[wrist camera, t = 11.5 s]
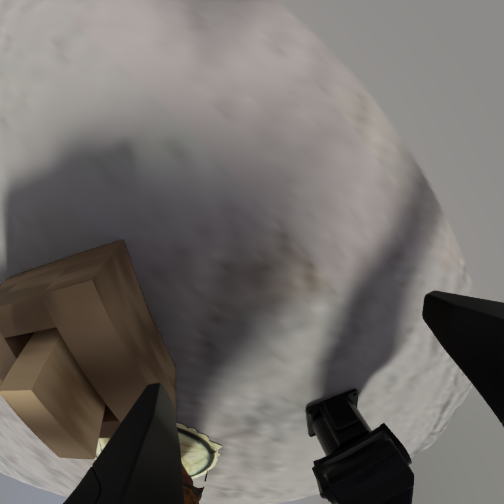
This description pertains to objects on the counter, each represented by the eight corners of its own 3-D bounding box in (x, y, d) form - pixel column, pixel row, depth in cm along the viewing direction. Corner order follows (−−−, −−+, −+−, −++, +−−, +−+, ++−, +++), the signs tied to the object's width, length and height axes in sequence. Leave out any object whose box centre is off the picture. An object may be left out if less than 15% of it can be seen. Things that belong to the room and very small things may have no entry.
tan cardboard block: (113, 374, 18) (95, 459, 11) (78, 379, 18) (54, 456, 10) (76, 309, 16) (31, 390, 9) (41, 317, 16) (-7, 390, 8)
